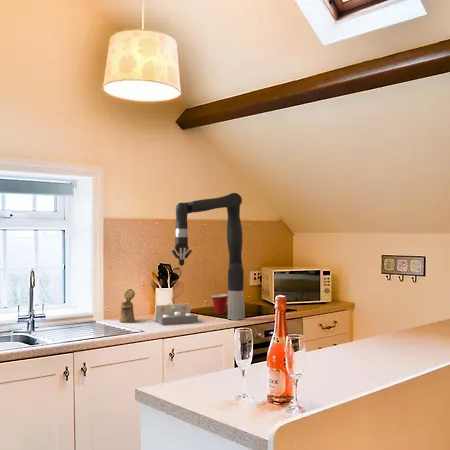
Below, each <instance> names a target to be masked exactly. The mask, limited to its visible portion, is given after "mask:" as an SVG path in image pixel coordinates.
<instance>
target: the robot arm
mask: <svg viewBox="0 0 450 450" xmlns="http://www.w3.org/2000/svg"><path fill="white" fill-rule="evenodd" d="M242 203H243V198H242V195H240V194H239V193H238V192H237V193H236V192H231V193H229V194H227V195H224V196H219V197H213V198H205V199H198V200H193V201H189V202H187V201H186V202H178V203H177V204H176V206H175V219H176V220H175V232H174V234H175V235H174V236H175V237H174V239H175V240H174V248H173V249H171V250H170V252H171V253H172V255H173V256H174V257H175V259H177V260H178V265H179V267H184V265H185V259H187V258H188V257H189V256H190V254H191V253H192V252H193V250H192V249H190V248H189V230H188V227H189V226H188V214H192V213H193V214H194V213H201V212H207V211H211V210H216V209H221V208H226V211H227V220H226V221H227V223H226V240H227V241H226V243H227V250H228V256H229V257H228V258H229V261H228V270H227V294H228V296H227V320H229V319H231V320H230V321H239V320H238V319H242V320H245V317H246V315H245V312H246V311H245V310H246V309H245V308H246V307H245V305H246V304H245V302H244V277H245V276H244V272H245V271H244V266H243V259H242V250H243V227H242V223H241V217H240V215H241V214H240V212H241V211H240V209H241V205H242Z"/></svg>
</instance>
